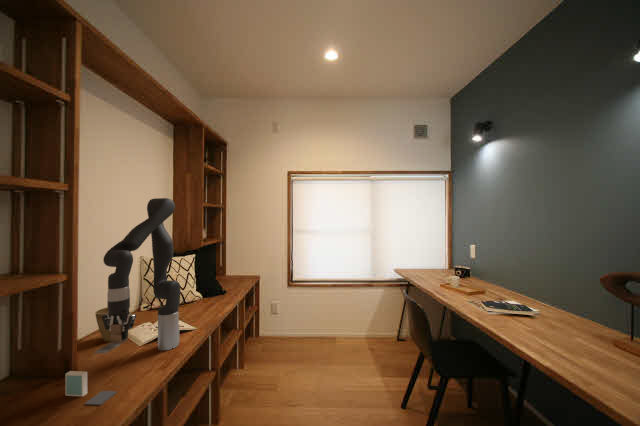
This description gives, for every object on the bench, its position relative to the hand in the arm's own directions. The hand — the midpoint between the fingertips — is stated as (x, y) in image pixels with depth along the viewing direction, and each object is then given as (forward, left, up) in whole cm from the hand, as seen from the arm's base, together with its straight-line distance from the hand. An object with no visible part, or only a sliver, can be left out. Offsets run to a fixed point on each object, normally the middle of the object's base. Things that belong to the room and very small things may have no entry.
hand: (119, 339), depth 112 cm
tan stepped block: (+4, 0, -1) cm, 4 cm away
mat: (+14, +5, -15) cm, 21 cm away
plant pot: (-33, -33, -15) cm, 49 cm away
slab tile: (+12, -6, -15) cm, 20 cm away
